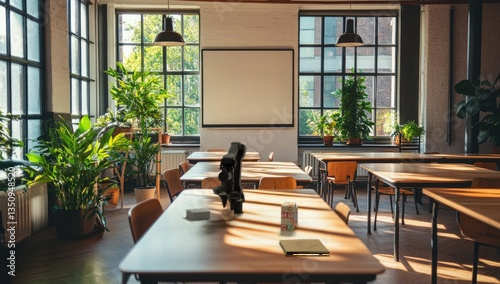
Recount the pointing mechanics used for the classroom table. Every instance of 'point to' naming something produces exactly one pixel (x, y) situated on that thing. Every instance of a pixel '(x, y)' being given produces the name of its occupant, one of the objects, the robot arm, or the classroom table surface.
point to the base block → (198, 214)
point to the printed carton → (289, 215)
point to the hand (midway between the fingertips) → (227, 209)
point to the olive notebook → (303, 246)
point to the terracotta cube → (227, 214)
